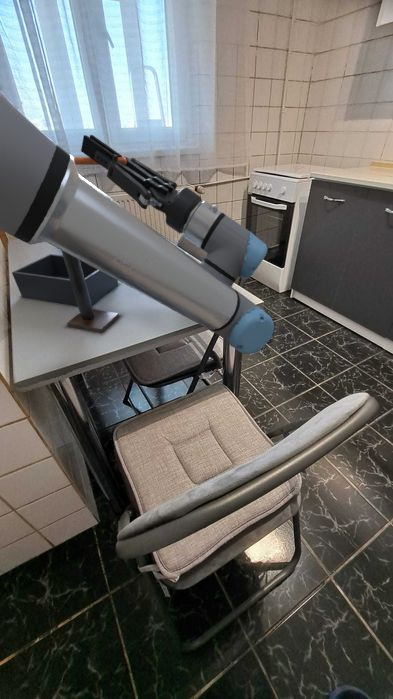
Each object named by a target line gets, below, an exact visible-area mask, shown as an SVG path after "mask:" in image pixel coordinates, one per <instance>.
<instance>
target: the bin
mask: <svg viewBox="0 0 393 699" xmlns="http://www.w3.org/2000/svg"><path fill="white" fill-rule="evenodd" d="M80 263H81V267H82V270H83V274H84V278H85V282H86V285H87V289H88V293H89V296H90V300H91V304H92V306H93V305H94V304H95V303H97V302H98V301H99V300H101V299H102V298H103V297H104V296H106V295H107V294H108V293H110V292H111V291H112V290H114V289H115V288H116V287H118V286H119V281H118V280H116V279H114V278H112V277H111V276H109V275H107V274H105V273H103V272H101V271H99V270H98V269H96V268H94V267H92V266H90V265H88V264H86V263H85V262H83V261H81V260H80ZM11 275H12V276H13V279H14V281H15V283H16V286H17V288H18V291H19V293H20V296H21V297H22V298H27V299H33V300H38V301H39V300H40V301H45V302H52V303H58V304H63V305H70V306H75V307H78V304H77V301H76V298H75V294H74V291H73V288H72V284H71V281H70V278H69V275H68V271H67V268H66V265H65V261H64V258H63V255H62V254H52V253H50V254H48V255H45V256H44V257H43V256H42V257H41V258H39V259H37V260H35V261H32V262H31V263H29V264H26V265H25V266H22V267H20V268H18V269H16V270H14V271H12V272H11Z"/></svg>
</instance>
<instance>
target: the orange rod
mask: <svg viewBox="0 0 393 699" xmlns="http://www.w3.org/2000/svg"><path fill="white" fill-rule="evenodd" d="M72 157H73V158H74V161H75V165H76V166H79V165H80V166H83V165H85V166H89V165H90V166H101V165H100V164H98V163H97V162H96V161H94V160H93V159H91V158H90V157H88V156H81V157H80V156H72ZM124 157H125V156H122V157H118V161H120V162H121V163H123V164H124V165H126V163H127V160H126V158H124Z"/></svg>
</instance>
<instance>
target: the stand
mask: <svg viewBox="0 0 393 699" xmlns="http://www.w3.org/2000/svg"><path fill="white" fill-rule="evenodd" d="M60 251H61V255H63V258H64V261H65V265H66V268H67V271H68V275H69V278H70V281H71V284H72V288H73V291H74V294H75V298H76V301H77V304H78V306H77V307H78V310H79V313H78V314H77V315H75V316H74V317H72V318H71V319H70V320H69V321H68V322H66V325H67V327H70V328H75V329H80V330H84V331H85V330H86V331H90V332H91V331H92V332H95V333H104V331H105V330H107V329H108V328H109V327H110V326H111V325H113V323H115V321H117V319H119V317H120V313H119V312H113V311H108V310H101V309H95V308H93V305H92V304H91V300H90V296H89V293H88V289H87V285H86V282H85V278H84V274H83V270H82V267H81V263H80V260H79V259H77V258H75V257H73V256H71V255H70V254H68V253H66V252H64V251H62V250H60Z"/></svg>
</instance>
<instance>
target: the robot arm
mask: <svg viewBox="0 0 393 699" xmlns="http://www.w3.org/2000/svg"><path fill="white" fill-rule="evenodd" d="M80 152H82V153H83V154H84V155H86V157H90V158H91V159H93V160H94V161H96V162H97V163H98V164H100V165H99V166H101V167H103V168H104V169H106V170H107V173H106V178H108V179H109V180H110V181H111V182H113V184H115V185H116V186H117V187H118V188H120V189H121V190H122V191H123V192H124V193H126V194H127V195H128V196H129V197H130V198H132V199H133V200H134V201H135V202H136V203H137V204H138V206H139V207H140V208H141V209H143V210H147V209H148V206H151V207H152V208H154V209H155V210H156V211H160V212H161V213H162V214H164V215H165V224H166V225H167V226H168V227H169V228H170V229H172V230H173V231H175V232H176V233H178V234H183V237H184V238H185V239H186V240H187V241H189V242H190V243H192V244H193V245H194V246H196V247H197V248H199V249H201V250H202V251H204V252H206V254H205V257H204V258H203V260H202V261H201V262H199V261H197V260H196V259H194V258H193V257H191V256H190V255H189V253H187V252H185V251H183V250H182V249H181V248H180V247H178V245H177V246H175V243H173V242H171V241H170V240H169V239H168V238H166V237H164V236H163V235H162V234H160V233H159V232H158V231H157V230H156V229H154V228H153V227H152V226H150V225H148V224H147V223H146V222H144V221H143V220H141V219H140V218H139V217H137V216H136V215H135V214H133V213H132V212H131V211H129V210H128V209H126V208H125V206H123V205H121V204H120V203H119V202H117V201H115V199H113V198H112V197H110V196H109V195H108V194H107V193H105V192H104V191H102V190H101V189H99V188H98V187H97V186H95V185H94V184H93V183H92V182H90V181H88V180H87V179H86V178H85V177H83V176H82V175H80V173H79V171H78V169H77V168H78V167H77V165H75V161H74V158H73V157H74V156H73V155H71V154H70V153H69V152H67V151H66V150H65V149H63V148H62V147H60V145H58V144H57V143H56V142H55V141H54V140H52V139H51V138H50V137H49V136H47V135H46V134H45V133H44V132H42V130H40V128H38V127H37V126H36V125H35V124H34V123H33V122H32V121H31V120H30V119H29V118H27V116H25V114H24V113H22V112H21V111H20V110H19V109H18V107H16V105H14V104H13V102H12V101H11V100H10V99H9V98H8V97H7V96H6V94H5V93H4V92H3V91H2V90H1V89H0V230H1V231H2V232H4V233H6V234H9V235H10V236H12V237H14V238H16V239H18V240H19V241H22V242H24V243H26V244H28V245H36V244H40V243H47V244H49V245H51V246H53V247H55V248H57V249H58V250H60V251H61V250H62V251H64V252H66V253H68V254H70V255H71V256H73V257H75V258H77V259H79V260H81V261H83V262H85V263H86V264H88V265H90V266H92V267H94V268H96V269H98V270H99V271H101V272H103V273H105V274H107V275H109V276H111V277H112V278H114V279H116V280H118V282H120V283H122V284H123V285H126V286H127V287H129V288H131V289H132V290H135V291H137V292H138V293H141V294H142V295H144V296H145V297H148V298H149V299H152V300H153V301H154V302H157V303H159V304H161V305H163V306H164V307H167V308H168V309H171V310H172V311H173V312H176V313H177V314H179V315H181V316H183V317H186V318H187V319H189V320H190V321H193V322H195V323H196V324H198V325H200V326H202V327H204V328H206V329H208V330H209V331H211V333H214V334H216V335H218V336H219V337H221V338H223V339H224V340H226V341H227V342H228V345H229V346H230V347H232V348H234V350H236V351H237V352H239V353H240V354H243V355H251V354H254V353H255V354H256V353H257V352H259V351H260V350H262V349H263V348H265V347H266V344H267V343H268V342H269V341H270V340H271V339H272V336H273V334H274V330H275V329H274V328H275V323H274V321H273V318H272V317H271V315H270V314H268V313H267V312H266V311H265V309H264V308H262V307H261V306H259V305H257V304H256V303H255V302H253V301H251V300H250V299H249V298H248V297H246V296H245V295H243V294H242V293H241V292H239V291H238V290H237V289H235V288H234V287H233V285H234V284H235V283H236V281H237V280H238V278H239V277H240V278H242V279H243V280H248V279H250V278H251V277H252V275H253V274H254V273H255V271H256V270H257V269H258V268H259V266H260V265H261V263H262V262H263V260H264V259H265V257H266V256H267V254H268V246H267V244H266V243H265V242H263V241H262V240H261V239H260V238H259V237H258V236H256V235H255V234H254V233H253V231H250V230H248V229H247V228H246V227H244V226H243V225H241V224H240V223H239V222H237V221H236V220H234V219H233V218H231V217H230V216H228V215H227V214H225V213H224V212H223V211H221V210H220V209H219V205H218V204H212V203H210V202H208V201H207V200H203V199H202V197H201V196H200V195H199V194H197V193H196V192H195V191H193V190H192V189H191V188H189V187H183V188H181V189H180V191H178V190H177V187H178V184H177V183H176V182H175V181H172V180H170V179H169V178H167V177H165V176H163V175H161V174H160V173H158V172H156V171H155V170H153V169H152V168H151V167H149V166H147V165H145V164H144V163H142V162H140V160H137V158H135V157H131V158H129V157H128V156H123V155H121V153H119V152H117V150H115V149H113V148H112V147H110V146H109V145H108V144H106V143H105V142H103V141H102V140H101V139H99V138H98V137H96V136H95V135H93V134H89V135H87V134H84V135H83V138H82V144H81V149H80ZM118 157H124V158H126V160H127V163H126V165H124V164H123V163H121V162H120V161H118ZM62 251H61V252H62ZM186 253H187V254H186Z"/></svg>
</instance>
